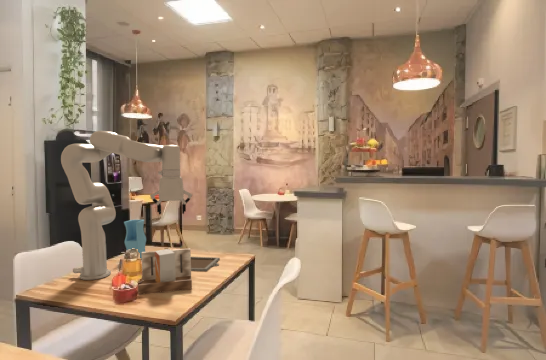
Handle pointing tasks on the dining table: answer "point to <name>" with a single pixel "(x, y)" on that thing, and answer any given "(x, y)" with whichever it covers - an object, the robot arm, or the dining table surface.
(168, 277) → the small box
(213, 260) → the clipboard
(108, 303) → the dining table surface
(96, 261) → the robot arm
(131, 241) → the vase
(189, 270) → the display ledge
